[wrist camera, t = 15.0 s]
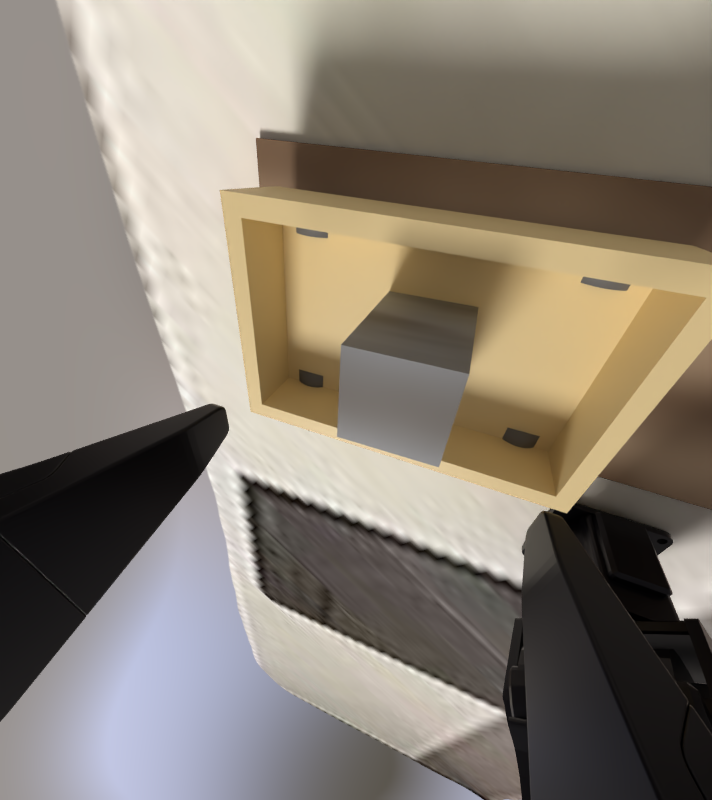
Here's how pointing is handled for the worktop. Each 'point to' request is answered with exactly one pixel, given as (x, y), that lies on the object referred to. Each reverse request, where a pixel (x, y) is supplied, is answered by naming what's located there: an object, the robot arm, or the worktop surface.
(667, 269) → the wooden tray
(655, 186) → the brown board
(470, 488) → the worktop surface
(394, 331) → the charcoal block
